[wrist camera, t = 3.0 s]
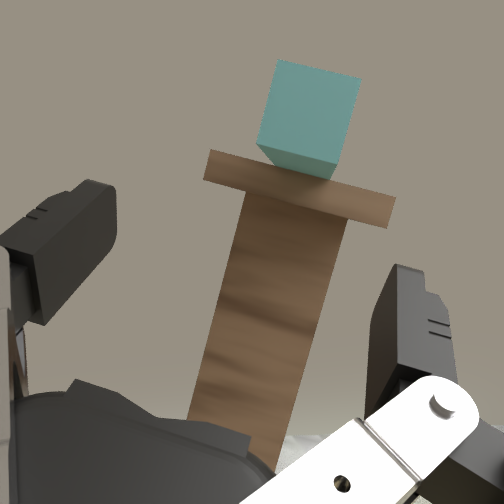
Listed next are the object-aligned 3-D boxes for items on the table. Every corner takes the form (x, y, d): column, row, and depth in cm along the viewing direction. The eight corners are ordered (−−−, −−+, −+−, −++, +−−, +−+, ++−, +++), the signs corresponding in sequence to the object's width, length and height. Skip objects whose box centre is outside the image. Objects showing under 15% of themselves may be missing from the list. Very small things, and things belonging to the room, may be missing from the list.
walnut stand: (288, 654, 32) (428, 205, 28) (76, 575, 34) (181, 141, 30) (298, 485, 52) (381, 207, 48) (164, 441, 54) (234, 168, 50)
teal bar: (337, 164, 19) (361, 78, 19) (256, 143, 19) (278, 59, 19) (324, 190, 45) (334, 154, 44) (289, 181, 45) (298, 145, 45)
